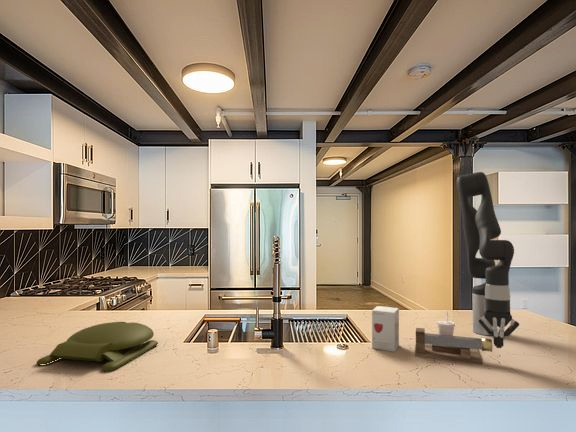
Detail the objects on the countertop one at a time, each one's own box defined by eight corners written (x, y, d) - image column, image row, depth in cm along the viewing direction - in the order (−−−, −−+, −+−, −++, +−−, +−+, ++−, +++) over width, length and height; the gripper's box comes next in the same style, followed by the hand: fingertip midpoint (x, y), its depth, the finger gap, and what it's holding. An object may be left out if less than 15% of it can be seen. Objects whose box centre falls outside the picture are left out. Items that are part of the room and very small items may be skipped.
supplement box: (371, 348, 140) (371, 309, 140) (377, 342, 147) (376, 305, 148) (395, 352, 135) (394, 312, 136) (399, 345, 143) (399, 307, 144)
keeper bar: (421, 341, 135) (421, 330, 136) (490, 349, 127) (490, 337, 127) (421, 345, 131) (420, 333, 131) (492, 353, 123) (492, 340, 123)
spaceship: (111, 374, 116) (112, 343, 117) (32, 367, 122) (33, 338, 123) (168, 341, 151) (168, 317, 151) (104, 336, 157) (104, 314, 157)
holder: (416, 342, 147) (415, 320, 147) (476, 348, 139) (475, 325, 139) (414, 355, 131) (414, 331, 132) (482, 364, 123) (481, 338, 123)
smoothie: (457, 351, 133) (456, 313, 134) (439, 350, 135) (438, 312, 135) (453, 345, 140) (452, 309, 140) (435, 344, 141) (435, 308, 141)
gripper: (516, 296, 126) (518, 346, 125) (474, 294, 131) (475, 342, 130) (522, 300, 119) (523, 353, 118) (477, 297, 124) (478, 348, 123)
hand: (498, 347), depth 124 cm, fingers closed
